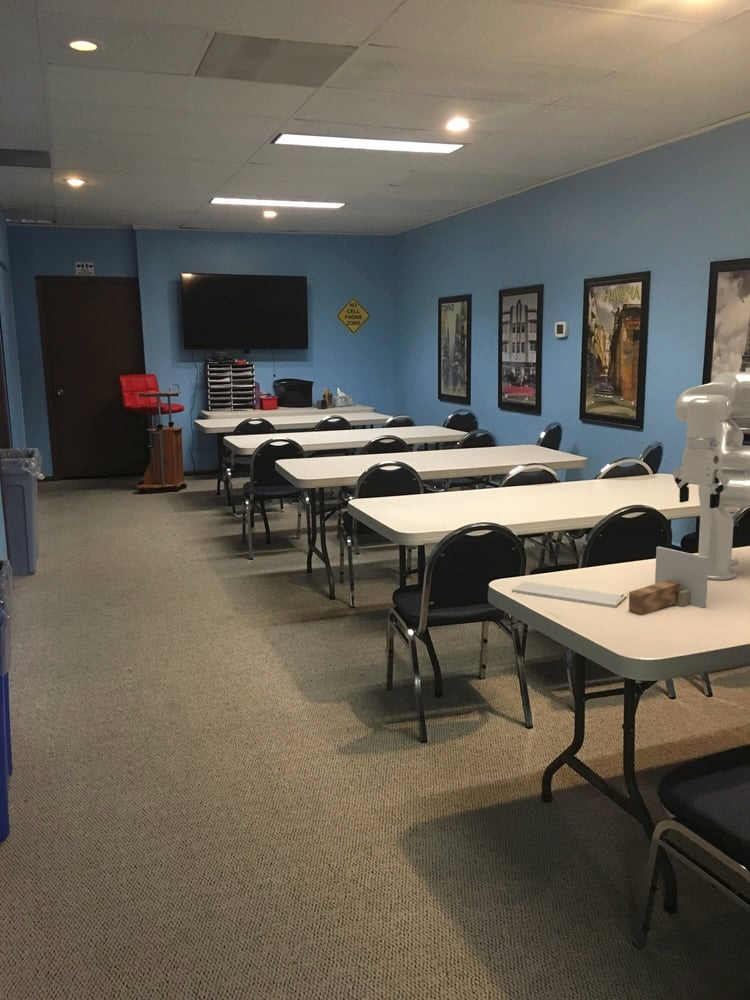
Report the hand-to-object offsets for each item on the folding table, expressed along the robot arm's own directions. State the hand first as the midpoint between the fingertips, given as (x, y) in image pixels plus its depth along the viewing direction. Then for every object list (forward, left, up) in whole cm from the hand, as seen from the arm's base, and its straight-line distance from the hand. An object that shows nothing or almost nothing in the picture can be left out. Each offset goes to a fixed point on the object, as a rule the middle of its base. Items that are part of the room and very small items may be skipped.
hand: (698, 504), depth 215 cm
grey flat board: (+25, -24, -28) cm, 44 cm away
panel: (+7, -1, -27) cm, 28 cm away
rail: (+16, -1, -27) cm, 31 cm away
